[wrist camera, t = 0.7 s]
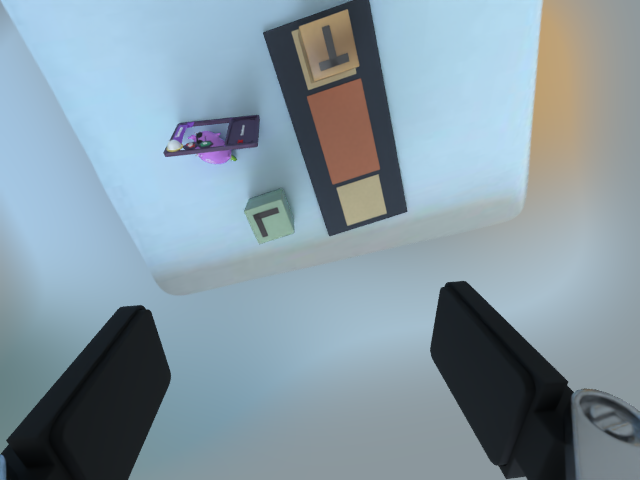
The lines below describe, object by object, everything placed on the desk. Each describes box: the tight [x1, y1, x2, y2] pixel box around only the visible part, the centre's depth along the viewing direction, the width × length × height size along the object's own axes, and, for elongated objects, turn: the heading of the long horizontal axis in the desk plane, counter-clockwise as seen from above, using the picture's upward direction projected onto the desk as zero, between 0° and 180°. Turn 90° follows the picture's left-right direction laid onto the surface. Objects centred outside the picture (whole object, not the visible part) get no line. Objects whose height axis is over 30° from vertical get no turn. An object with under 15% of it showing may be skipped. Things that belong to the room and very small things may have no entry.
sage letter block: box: [244, 188, 294, 244], centre depth 36 cm, size 4×4×5 cm
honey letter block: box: [298, 9, 359, 84], centre depth 29 cm, size 4×4×5 cm
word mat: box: [263, 0, 407, 236], centre depth 35 cm, size 24×11×1 cm, turn 17°
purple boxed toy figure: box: [164, 115, 260, 164], centre depth 32 cm, size 7×5×9 cm
